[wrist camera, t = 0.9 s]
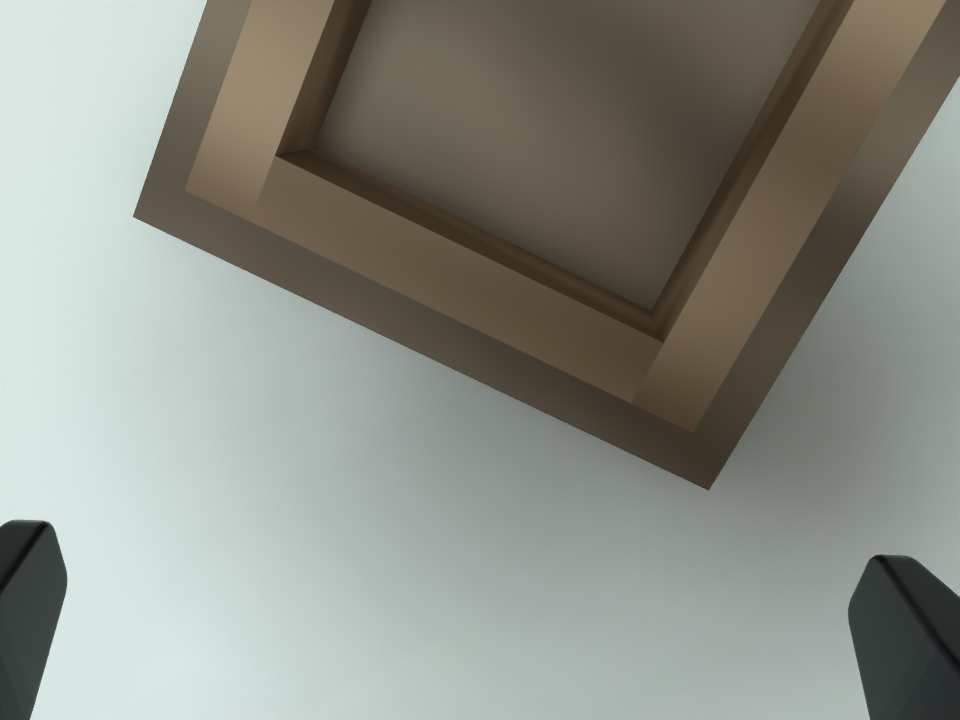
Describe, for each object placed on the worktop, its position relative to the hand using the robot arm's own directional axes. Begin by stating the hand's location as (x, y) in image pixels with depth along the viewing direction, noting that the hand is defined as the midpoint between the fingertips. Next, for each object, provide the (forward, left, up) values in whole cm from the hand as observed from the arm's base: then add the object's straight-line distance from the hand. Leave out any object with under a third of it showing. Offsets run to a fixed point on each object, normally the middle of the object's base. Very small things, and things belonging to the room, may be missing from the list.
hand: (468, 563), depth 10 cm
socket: (+6, -2, -14) cm, 15 cm away
